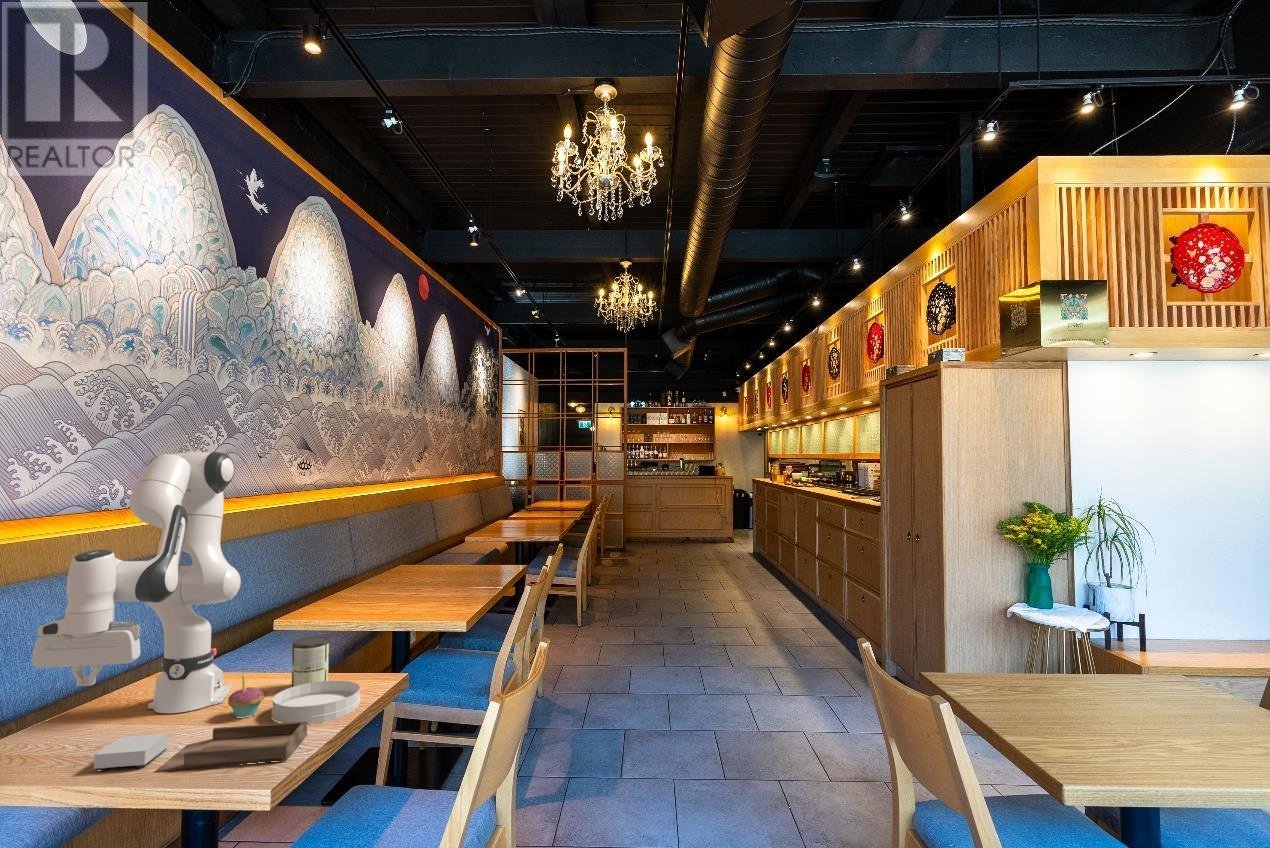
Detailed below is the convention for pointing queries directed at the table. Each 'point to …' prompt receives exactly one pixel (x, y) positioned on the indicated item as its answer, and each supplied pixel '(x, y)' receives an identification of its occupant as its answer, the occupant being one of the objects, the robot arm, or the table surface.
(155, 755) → the grey square tile
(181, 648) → the robot arm
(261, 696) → the cupcake
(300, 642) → the coffee can
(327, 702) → the dish
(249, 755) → the dock
